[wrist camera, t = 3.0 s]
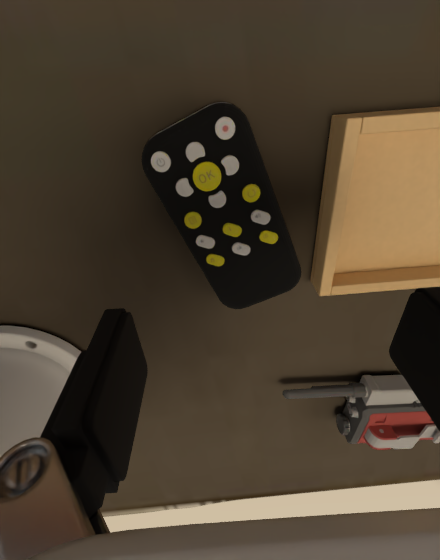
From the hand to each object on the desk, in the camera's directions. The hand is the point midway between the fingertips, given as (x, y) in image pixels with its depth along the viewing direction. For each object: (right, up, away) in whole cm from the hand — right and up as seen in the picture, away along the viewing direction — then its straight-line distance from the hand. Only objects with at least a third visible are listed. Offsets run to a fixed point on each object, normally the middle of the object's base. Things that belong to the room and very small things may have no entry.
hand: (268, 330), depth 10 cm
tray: (+13, +7, +9) cm, 18 cm away
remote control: (-1, +6, +9) cm, 11 cm away
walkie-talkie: (+14, -11, +21) cm, 28 cm away
